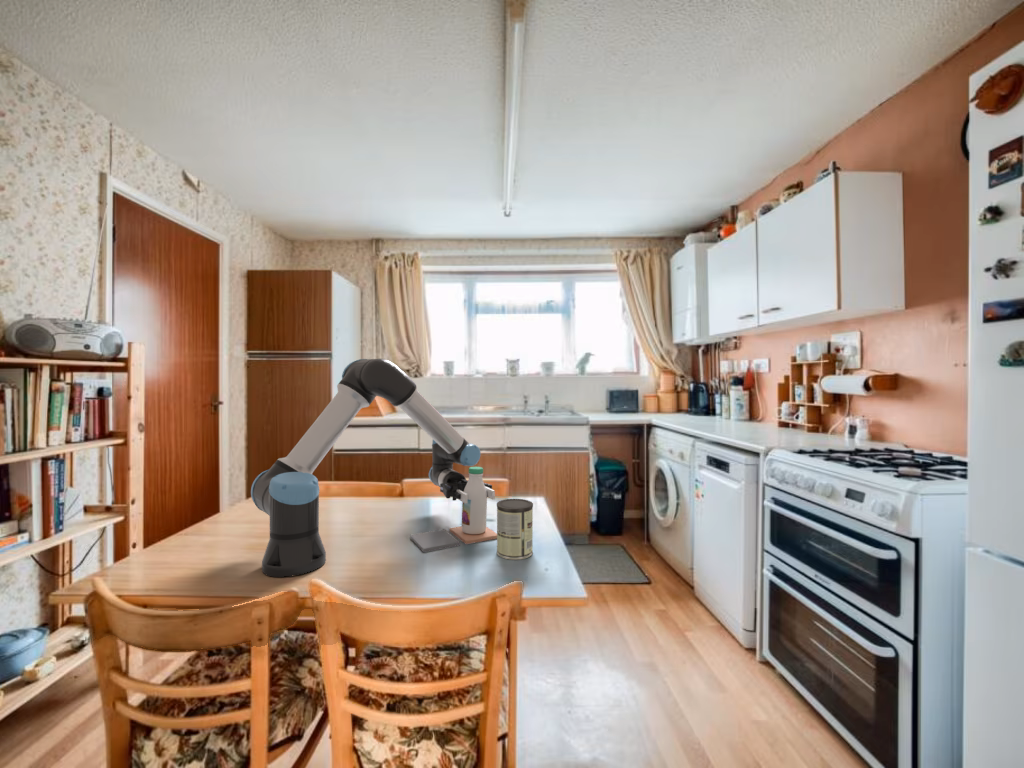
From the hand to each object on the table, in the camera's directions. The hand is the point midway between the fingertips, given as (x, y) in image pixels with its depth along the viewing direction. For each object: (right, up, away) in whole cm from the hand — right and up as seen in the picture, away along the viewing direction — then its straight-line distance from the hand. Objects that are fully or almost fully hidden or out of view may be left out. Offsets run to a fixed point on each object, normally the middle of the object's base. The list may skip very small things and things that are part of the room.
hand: (480, 497), depth 140 cm
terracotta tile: (-2, -13, +4) cm, 14 cm away
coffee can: (+10, -14, -10) cm, 20 cm away
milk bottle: (-2, -12, +4) cm, 13 cm away
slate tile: (-14, -13, -2) cm, 19 cm away
